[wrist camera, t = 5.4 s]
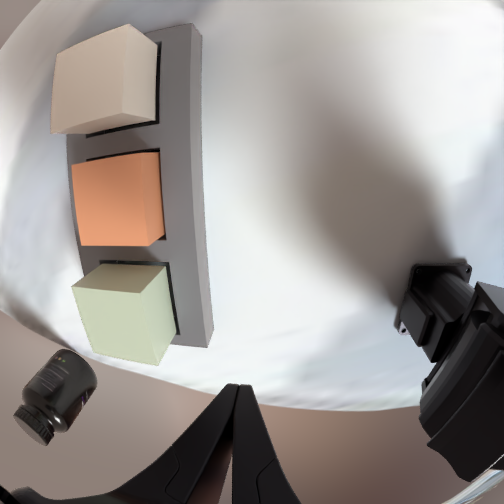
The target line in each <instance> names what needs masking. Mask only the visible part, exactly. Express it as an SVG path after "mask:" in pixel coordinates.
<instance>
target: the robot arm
mask: <svg viewBox="0 0 504 504" xmlns="http://www.w3.org/2000/svg"><path fill="white" fill-rule="evenodd" d="M418 269H420V270H419V271H418V272H417V273H416V271H417V270H418ZM466 270H467V271H466ZM471 272H472V267H471V266H470V265H469V264H415V265H414V266H413V268H412V271H411V276H410V281H409V285H408V289H407V291H406V293H405V297H404V301H403V305H402V309H401V313H400V321H399V325H398V329H397V330H398V332H399V334H400V335H411V337H412V338H413V340H414V342H415V343H416V345H417V346H418V347H422V348H423V350H424V352H425V353H426V355H427V357H428V358H429V360H430V362H431V363H435V362H437V363H436V365H435V366H434V368H433V369H432V371H431V372H430V374H429V375H428V377H427V378H425V379H424V381H423V382H422V396H421V399H420V410H421V414H420V415H419V420H420V423H421V425H422V427H423V429H424V431H425V432H426V433H427V435H428V436H429V437H430V438H431V439H430V441H428V443H427V446H428V447H430V448H431V449H433V450H435V451H437V452H439V453H440V454H441V455H442V456H443V457H444V458H445V459H446V460H447V461H448V462H449V463H450V465H451V466H452V467H453V469H454V471H455V472H456V474H457V475H458V477H459V478H462V479H463V480H465V481H468V482H472V481H474V480H475V479H477V478H478V477H479V476H480V475H482V474H483V473H484V472H485V471H487V470H488V469H491V470H503V471H504V288H501V287H497V286H494V285H490V284H486V283H482V282H479V281H477V283H476V285H475V288H473V287H472V286H470V285H469V284H468V283H469V280H470V276H471ZM403 328H404V330H402V329H403ZM231 457H233V459H232V504H301V502H300V501H299V499H298V498H297V496H296V495H295V493H294V491H293V490H292V488H291V486H290V484H289V482H288V481H287V479H286V477H285V474H284V472H283V470H282V468H281V465H280V463H279V460H278V458H277V455H276V453H275V450H274V447H273V444H272V442H271V439H270V436H269V434H268V431H267V428H266V425H265V423H264V420H263V417H262V414H261V411H260V408H259V406H258V403H257V400H256V397H255V394H254V391H253V388H252V386H251V385H245V384H241V385H240V386H239V385H238V384H231V383H228V384H227V385H226V386H225V387H224V388H223V389H222V390H221V391H220V393H219V394H218V395H217V396H216V397H215V398H214V399H213V401H212V402H211V403H210V404H209V405H208V406H207V407H206V408H205V410H204V411H203V412H202V413H201V414H200V415H199V416H198V417H197V418H196V420H195V421H194V422H193V423H192V424H191V425H190V426H189V427H188V428H187V429H186V430H185V431H184V432H183V434H182V435H181V436H180V437H179V438H178V439H177V440H176V441H175V442H174V443H173V444H172V446H170V447H169V448H168V449H167V450H166V451H165V452H164V453H163V454H162V455H161V456H160V457H159V458H158V459H157V460H155V461H154V462H153V463H152V464H151V465H149V466H148V467H147V468H146V469H144V470H143V471H141V472H140V473H139V474H137V475H136V476H135V477H133V478H132V479H130V480H129V481H127V482H126V483H125V484H123V485H122V486H120V487H119V488H117V489H115V490H113V491H111V492H108V493H105V494H100V495H95V496H89V497H82V498H73V499H65V500H53V499H48V498H45V497H43V496H41V495H40V494H39V493H37V492H36V491H34V490H33V489H31V488H30V487H23V488H18V489H15V490H13V491H12V492H11V493H10V492H9V491H8V490H6V489H5V488H4V487H3V486H2V485H0V504H218V503H219V499H220V496H221V493H222V489H223V485H224V482H225V479H226V475H227V471H228V468H229V464H230V461H231Z"/></svg>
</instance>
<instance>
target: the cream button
mask: <svg viewBox="0 0 504 504" xmlns="http://www.w3.org/2000/svg"><path fill="white" fill-rule="evenodd" d="M157 46H158V45H156V44H155V43H154V42H153V41H151V40H150V39H149V38H148V37H146V36H145V35H144V34H142V33H141V32H140V31H138V30H137V29H136V28H134V27H133V26H131V25H130V24H126V25H123V26H120V27H117V28H115V29H112V30H109V31H106V32H104V33H101V34H99V35H96V36H94V37H92V38H89V39H87V40H85V41H82V42H80V43H78V44H76V45H74V46H72V47H70V48H68V49H66V50H64V51H62V52H60V53H58V54H57V56H56V63H55V70H54V79H53V89H52V102H51V134H90V133H94V132H98V131H102V130H107V129H111V128H115V127H120V126H125V125H130V124H135V123H141V122H146V121H152V120H155V88H156V62H157Z"/></svg>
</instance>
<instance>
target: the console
mask: <svg viewBox="0 0 504 504" xmlns="http://www.w3.org/2000/svg"><path fill="white" fill-rule="evenodd" d="M144 35H145V36H146V37H148V38H149V39H150V40H151V41H153V42H154V43H155V44H156V45H158V46H157V56H159V55H161V67H160V124H156V125H150V126H144V127H138V128H132V129H127V130H122V131H117V132H112V133H108V134H105V130H102V131H98V132H94V133H90V134H67V163H68V178H69V189H70V198H71V207H72V214H73V221H74V228H75V234H76V239H77V245H78V250H79V255H80V260H81V264H82V269H83V273H84V277H85V276H86V275H87V274H89V273H90V272H91V271H93V270H94V269H96V268H97V267H98V266H100V265H101V264H118V262H117V260H122V261H151V262H169V264H170V272H171V279H172V286H173V293H174V300H175V306H176V312H177V317H174V322H175V327H176V334H175V335H174V337H173V339H172V341H171V343H170V344H174V345H183V346H192V347H203V348H207V347H208V345H209V342H210V339H211V336H212V333H213V331H214V326H213V316H212V306H211V295H210V284H209V272H208V259H207V245H206V230H205V214H204V194H203V170H202V135H201V57H202V36H201V35H200V33H199V32H198V30H197V29H196V28H195V26H194V25H193V23H190V24H184V25H179V26H174V27H169V28H165V29H161V30H157V31H153V32H149V33H145V34H144ZM159 149H160V159H161V179H162V195H163V208H164V219H165V229H166V233H165V234H164V235H163V236H161V237H160V238H159V239H157V240H156V241H155V242H153V243H152V244H151V245H149V246H81V241H80V235H79V229H78V223H77V216H76V209H75V201H74V191H73V181H72V167H71V165H74V164H79V163H84V162H89V161H94V160H99V159H105V157H110V156H116V155H122V154H129V153H136V152H143V151H150V150H159Z"/></svg>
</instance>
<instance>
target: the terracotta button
mask: <svg viewBox="0 0 504 504" xmlns="http://www.w3.org/2000/svg"><path fill="white" fill-rule="evenodd" d="M71 167H72V181H73V191H74V201H75V209H76V216H77V223H78V229H79V235H80V241H81V246H149V245H151V244H152V243H153V242H155V241H156V240H157V239H159V238H160V237H161V236H163V235H164V234H165V233H166V229H165V219H164V208H163V195H162V179H161V159H160V152H155V153H136V154H129V155H123V156H116V157H110V158H105V159H99V160H94V161H89V162H84V163H79V164H74V165H71Z"/></svg>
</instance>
